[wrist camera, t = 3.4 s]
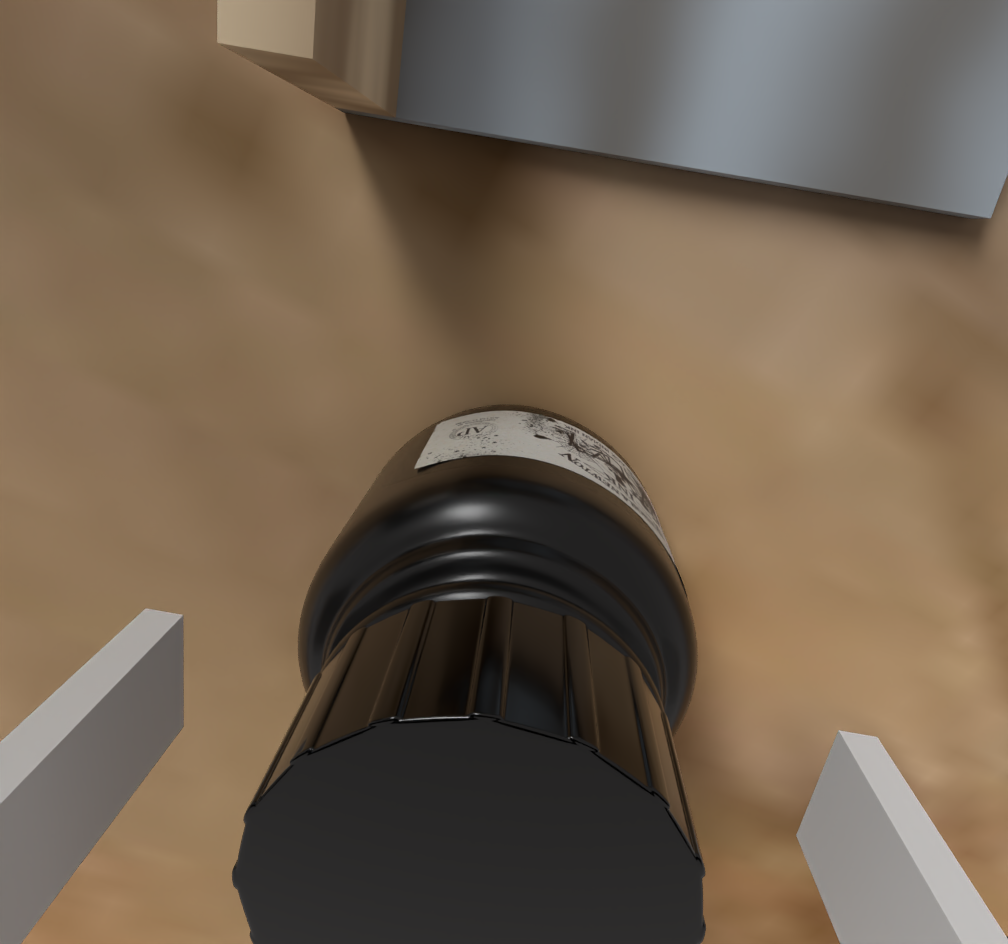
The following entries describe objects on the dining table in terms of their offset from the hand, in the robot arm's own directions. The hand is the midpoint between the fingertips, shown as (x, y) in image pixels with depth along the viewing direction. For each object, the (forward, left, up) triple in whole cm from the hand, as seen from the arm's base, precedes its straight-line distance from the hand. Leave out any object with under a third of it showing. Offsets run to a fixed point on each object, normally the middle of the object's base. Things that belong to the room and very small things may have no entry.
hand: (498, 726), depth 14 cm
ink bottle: (0, 0, -8) cm, 8 cm away
